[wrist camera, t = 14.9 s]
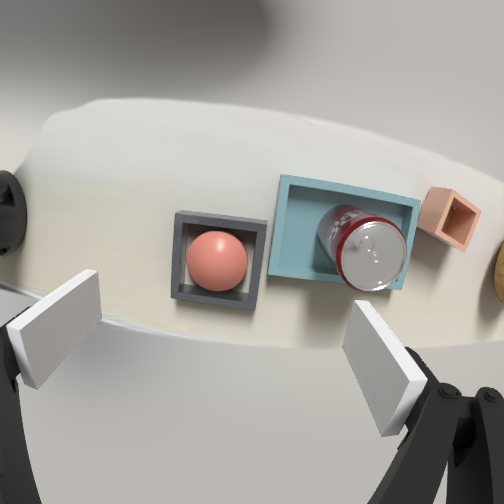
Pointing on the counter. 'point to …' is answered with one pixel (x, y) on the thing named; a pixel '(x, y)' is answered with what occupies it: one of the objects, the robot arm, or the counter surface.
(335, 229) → the soda can
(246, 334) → the counter surface
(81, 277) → the robot arm
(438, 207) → the cup
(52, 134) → the counter surface
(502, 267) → the potato
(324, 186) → the trough
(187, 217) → the cradle
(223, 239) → the salmon round part
